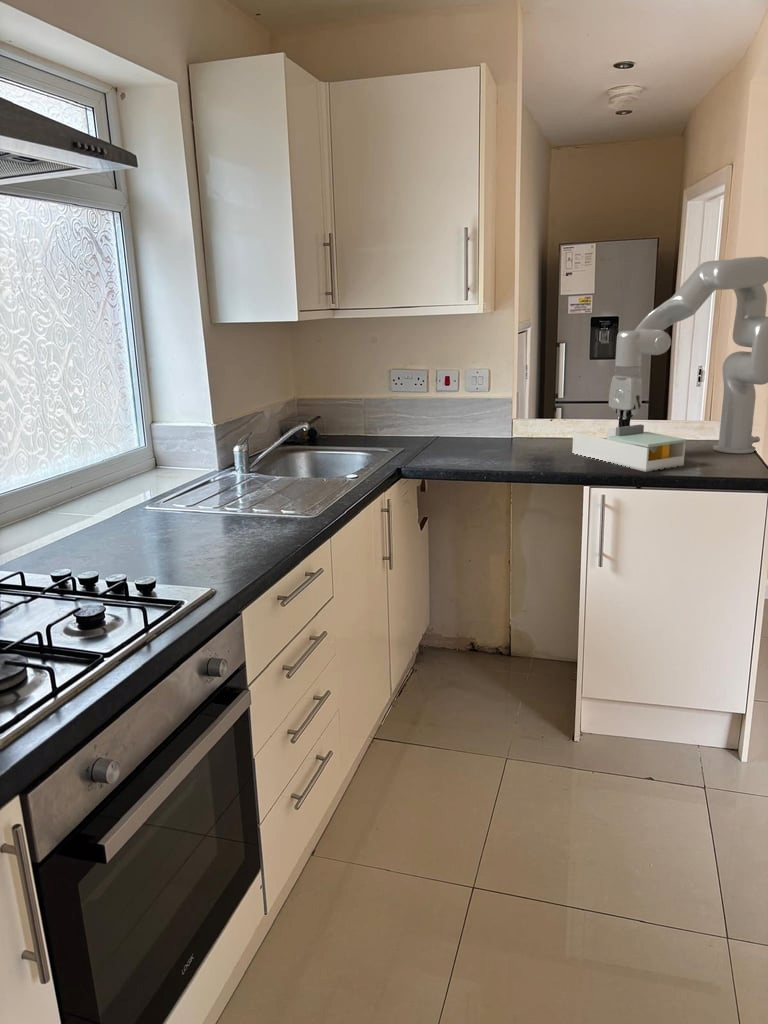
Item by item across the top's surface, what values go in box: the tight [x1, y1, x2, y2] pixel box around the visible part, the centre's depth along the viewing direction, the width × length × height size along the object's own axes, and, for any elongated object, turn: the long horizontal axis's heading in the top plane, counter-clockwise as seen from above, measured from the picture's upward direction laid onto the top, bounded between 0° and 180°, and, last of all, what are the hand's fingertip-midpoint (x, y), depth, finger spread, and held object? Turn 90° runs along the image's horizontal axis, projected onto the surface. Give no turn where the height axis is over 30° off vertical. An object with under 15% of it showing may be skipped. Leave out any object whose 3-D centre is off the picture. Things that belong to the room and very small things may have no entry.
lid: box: [609, 424, 687, 447], centre depth 235 cm, size 15×16×3 cm
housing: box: [571, 427, 686, 473], centre depth 244 cm, size 15×32×7 cm, turn 27°
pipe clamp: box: [638, 444, 670, 461], centre depth 237 cm, size 12×4×6 cm, turn 22°
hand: (623, 431), depth 244 cm, fingers closed
